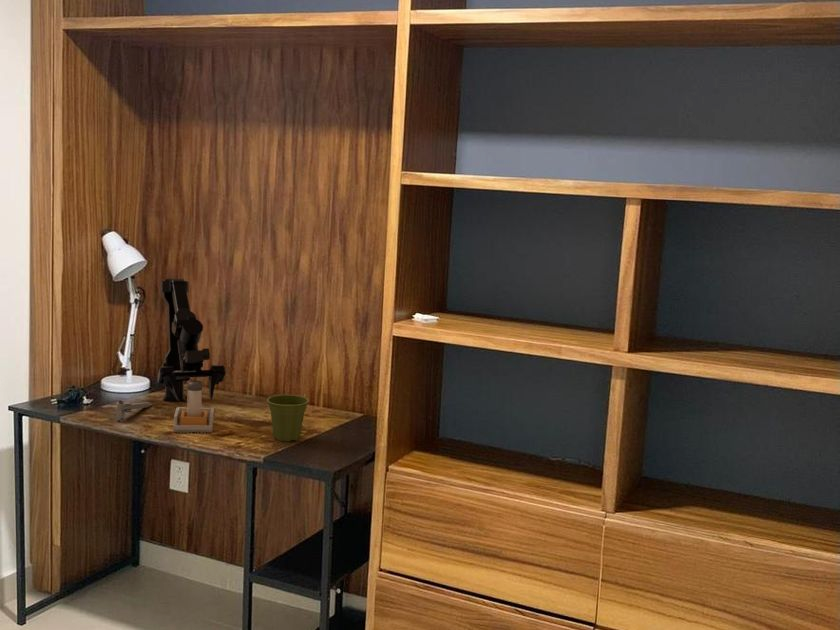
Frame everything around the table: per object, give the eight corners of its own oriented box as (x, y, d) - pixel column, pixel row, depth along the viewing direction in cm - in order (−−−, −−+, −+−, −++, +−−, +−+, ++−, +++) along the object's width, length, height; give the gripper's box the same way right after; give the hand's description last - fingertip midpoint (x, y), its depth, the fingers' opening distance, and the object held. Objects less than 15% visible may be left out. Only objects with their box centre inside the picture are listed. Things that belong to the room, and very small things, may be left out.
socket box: (176, 422, 250) (176, 407, 249) (213, 422, 252) (213, 407, 251) (173, 432, 239) (173, 417, 239) (212, 432, 242) (212, 417, 241)
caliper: (119, 422, 247) (120, 401, 246) (116, 422, 247) (116, 401, 246) (152, 406, 267) (152, 386, 266) (148, 405, 267) (149, 386, 266)
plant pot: (263, 432, 246) (265, 394, 244) (304, 432, 249) (306, 394, 247) (266, 444, 234) (268, 404, 233) (309, 444, 237) (311, 404, 236)
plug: (190, 422, 248) (191, 380, 246) (203, 423, 247) (204, 381, 246) (184, 425, 244) (185, 383, 242) (197, 427, 243) (198, 384, 242)
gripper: (159, 339, 242) (165, 386, 234) (225, 338, 250) (233, 383, 242) (155, 360, 250) (160, 406, 242) (218, 358, 258) (225, 403, 250)
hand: (195, 399), depth 244 cm, fingers open, 9 cm apart
